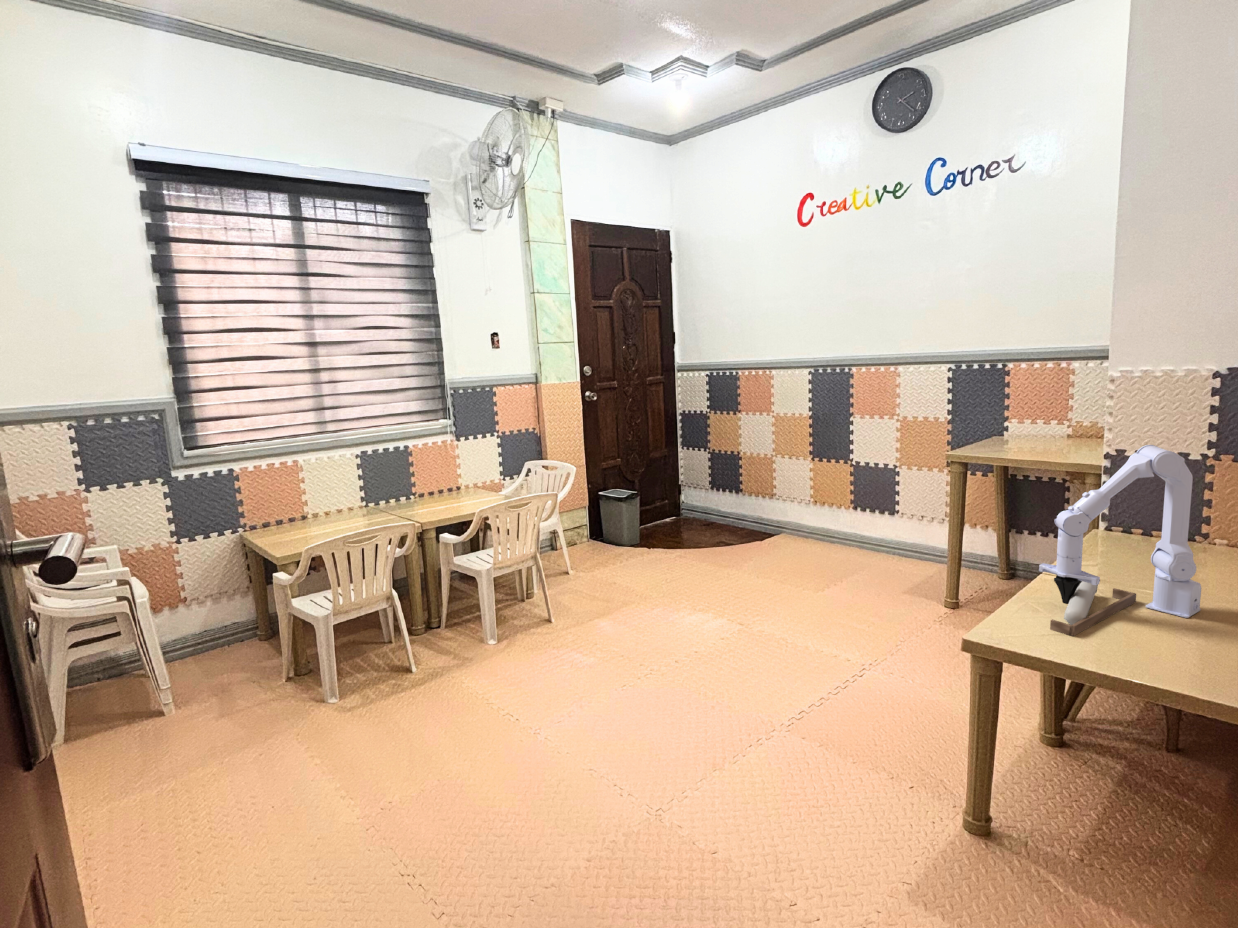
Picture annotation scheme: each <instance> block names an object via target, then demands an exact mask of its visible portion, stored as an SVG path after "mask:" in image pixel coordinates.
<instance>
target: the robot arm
mask: <svg viewBox="0 0 1238 928" xmlns="http://www.w3.org/2000/svg"><path fill="white" fill-rule="evenodd" d="M1185 461H1186V458H1184V457H1183V456H1182V455H1180V454H1178V453H1177V452H1175V451H1173V450H1168V449H1164V448H1162V447H1159V446H1157V445H1154V444H1146V445H1143V446H1141V447H1139V448H1138V449H1137V451H1136V452H1134V453H1133V454H1131V455H1130V456H1129V458H1128V460H1126V462H1125V463H1124V464H1123V465H1122V466H1121V468H1119V470H1117V471H1116V472H1115V473H1114V474H1113V475H1112V476H1111V477H1110V478H1109V479H1108V480H1107V481H1106V482H1105V483H1104V484H1102V485H1101V487H1100V488H1098V489H1091V490H1089V491H1088V492H1087V491H1085V492H1083V493H1082V494H1081V498H1080V499H1078V501H1076V502H1074V504H1072V505H1070V506H1068V507H1067V509H1066V510H1063V511H1060V512H1059V513H1058V515H1056V518H1054V519H1053V520H1054V524H1055V526H1056V527H1057V528H1058V530H1057V545H1056V564H1051V563H1050V564H1049V563H1040V564H1039V566H1038V572H1040V573H1048V574H1053V575H1055V577H1054V578H1053V582H1054V583H1055V585H1056V588H1057V589H1058V590H1059V593H1060V598H1061V601H1062V604H1065V605H1068V603H1069V601H1070V599H1071V597H1072V596H1073V595H1074V593H1075V591H1076V589H1077V588H1078V586H1079V585H1080V583H1081V582H1082V581H1083V582H1087V583H1091V584H1092V585H1098V586H1099V585H1100V582H1101V581H1100V580H1101V579H1100V576H1098V575H1094V574H1091V573H1089V572H1086V571H1084V570H1082V567H1083V564H1082V563H1083V546H1084V533H1087V531H1088V530H1089V526H1090V523H1091V522H1092V521H1093V520H1094V519H1096V518H1097V517H1098V516H1099V515H1100V514H1101V513H1103V512H1104V511H1105V510H1106V509H1107V508H1108V507H1110V504H1111V498H1113V497H1114V496H1116V495H1117V494H1118V493H1119V492H1121V491H1122V490H1123V489H1125V488H1126V487H1127V486H1129V485H1131V483H1133V482H1134V481H1136V480H1137V479H1142V478H1143V479H1144V478H1154V477H1155V475H1156V476H1158V477H1159V478H1161V479H1162V480H1163V481H1164V482H1165V487H1164V496H1163V497H1164V500H1163V511H1162V526H1161V539H1160V540H1159V541H1157V542H1156V543H1155V549H1154V550H1153V552H1152V553H1151V556H1150V562H1151V564H1152V566H1153V567H1154V569H1155V572H1154V580H1153V581H1154V582H1153V593H1152V601H1151V602H1149V603H1148V604H1145V608H1147V609H1151V610H1155V611H1159V612H1162V613H1166V614H1169V615H1174V616H1178V617H1182V618H1185V619H1187V618H1188V619H1189V618H1190V617H1191V616H1194V615H1195V614H1197V613H1199V612H1200V611H1201V608H1200V607H1201V597H1202V585H1201V583H1200V582H1198V581H1195V580H1193V579H1192V578H1193V577H1194V576H1195V574H1196V573H1197V565H1196V563H1195V561H1194V552H1193V550H1192V548H1191V547H1190V545H1189V543H1188V541H1189V540H1188V539H1189V529H1190V518H1191V517H1190V516H1191V504H1192V490H1193V479H1194V478H1193V473H1191V471H1190V469H1189V467H1188V466H1187V464H1186V463H1185ZM1154 473H1155V475H1154Z"/></svg>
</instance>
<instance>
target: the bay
mask: <svg viewBox="0 0 1238 928" xmlns="http://www.w3.org/2000/svg"><path fill="white" fill-rule="evenodd" d="M1111 597H1112V598H1115V599H1118V600H1117V601H1114V602H1113V603H1110V604H1109V605H1107V606H1105V607H1103V608H1101V609H1099V610H1098V611H1096V612H1094V613H1092V614H1090V615H1087V617H1086V618H1084V619H1082V620H1080V621H1078V622H1076V623H1074V624H1073V625H1070V624H1069V623H1065V622H1062V621H1059V620H1057V619H1050V624H1049V625H1050V626H1049V627H1050V628H1049V629H1050V630H1051V631H1055V632H1057V633H1060V634H1063V633H1064V634H1065V635H1067V636H1070V637H1074V636H1076V635H1078V634H1080V633H1081V632H1083V631H1085V630H1087V629H1089V628H1091V627H1093V626H1095V625H1096V624H1098V623H1100V622H1102V621H1104V620H1106V619H1107V618H1110V617H1111V616H1113V615H1114V614H1117V613H1119V612H1120V611H1122V610H1124V609H1126V608H1127V607H1130V606H1131V605H1133V604H1135V603H1136V602H1137V593H1135V592H1132V591H1127V590H1123V589H1119V588H1116V587H1114V588H1112V595H1111ZM1077 633H1078V634H1077Z"/></svg>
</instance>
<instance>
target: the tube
mask: <svg viewBox="0 0 1238 928" xmlns="http://www.w3.org/2000/svg"><path fill="white" fill-rule="evenodd" d="M1098 588H1099V584H1098V585H1092V584H1091V583H1087V582H1083V581H1082V582H1081V583H1080V585H1079V586H1078V588H1077V589H1076V591H1075V593H1074V595H1073V596H1072V597H1071V599H1070V601H1069V603H1068V604H1067V606H1066V609H1065V611H1064V614H1063V620H1064V621H1065V622H1067V624H1069V625H1073V624H1074V623H1076V622H1078V621H1080V620H1082V619H1084V618H1086V617H1088V616H1089V612H1090V609H1091V606H1092V603H1093V600H1094V599H1095V596H1096V593H1097V592H1098Z"/></svg>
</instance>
